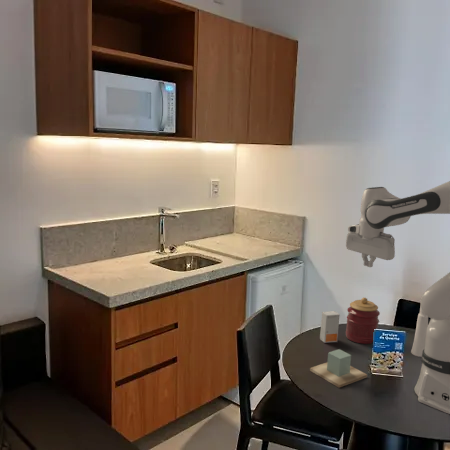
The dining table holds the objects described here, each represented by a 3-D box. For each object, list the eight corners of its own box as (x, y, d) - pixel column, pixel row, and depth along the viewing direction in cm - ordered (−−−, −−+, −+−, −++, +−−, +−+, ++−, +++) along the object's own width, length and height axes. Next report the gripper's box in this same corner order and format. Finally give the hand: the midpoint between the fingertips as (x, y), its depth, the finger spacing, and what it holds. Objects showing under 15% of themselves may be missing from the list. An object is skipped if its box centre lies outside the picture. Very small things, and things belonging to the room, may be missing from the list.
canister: (353, 345, 196) (357, 303, 192) (340, 332, 208) (343, 293, 205) (383, 343, 198) (387, 302, 195) (367, 330, 211) (371, 292, 208)
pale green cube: (349, 372, 171) (351, 355, 170) (338, 376, 168) (340, 358, 166) (337, 366, 175) (339, 349, 174) (326, 369, 172) (328, 352, 171)
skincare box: (324, 343, 197) (326, 315, 195) (319, 339, 201) (321, 311, 199) (337, 342, 198) (340, 314, 196) (332, 337, 202) (334, 310, 200)
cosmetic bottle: (430, 354, 190) (436, 300, 186) (422, 358, 186) (428, 304, 182) (415, 349, 194) (421, 296, 190) (407, 353, 190) (413, 299, 186)
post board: (366, 377, 170) (368, 359, 169) (339, 387, 162) (340, 368, 161) (337, 361, 181) (338, 344, 180) (309, 370, 174) (310, 352, 172)
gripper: (400, 234, 173) (396, 272, 175) (355, 224, 189) (353, 259, 192) (389, 236, 169) (385, 274, 172) (344, 226, 186) (342, 261, 188)
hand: (368, 266), depth 182 cm, fingers closed
